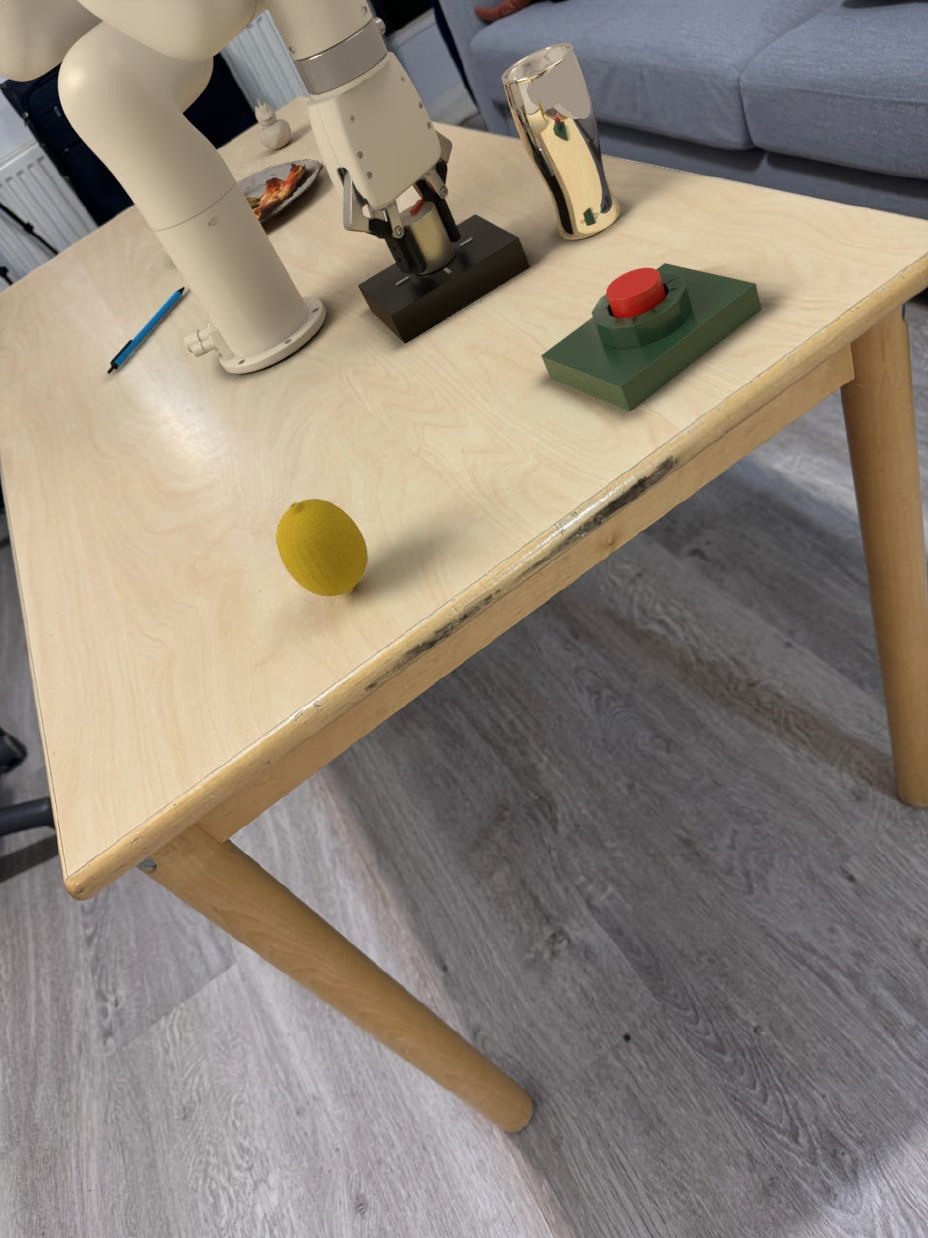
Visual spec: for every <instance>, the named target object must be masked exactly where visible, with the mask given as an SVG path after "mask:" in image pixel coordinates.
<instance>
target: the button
mask: <svg viewBox="0 0 928 1238" xmlns="http://www.w3.org/2000/svg"><path fill="white" fill-rule="evenodd" d="M656 269H657V268H654V267H640V268H635V269H633V270H630V271H627V272H625V273H623V274H621V275H619V276H617V277H616V278H615V279H614V280H612V281H611V282H610V283H609V284H608V285H607V288H606V291H605V294H606V295H607V298H608V301H609V304H610V307H611V310H612V312H613V315H614V316H615V317H616V318H627V317H635V316H638V315H640V314H643V313H645V312H648V311H650V310H652V309H654V308H655V307H656V306H658V305H659V304H660V303H662V302H663V301H664V300H665V297H666V293H665V290H664V287H663V283H662V280H661V277H660V273H659V271H657V270H656Z"/></svg>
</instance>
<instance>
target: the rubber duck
mask: <svg viewBox="0 0 928 1238" xmlns="http://www.w3.org/2000/svg"><path fill="white" fill-rule="evenodd" d="M256 100H257V105H258V106H257V105H255V106H254V109H255V110H254V111H255V112H254V113H255V118H256V120H257V122H258V124H259V125H260V126H262V128H261V130H260V131H259V132H258V135H257V136H258V140H259V142H260V143H261V144H262V146H264V147H265V148H267V149H271V150H279V149H282V148H284V147H285V146H286V145H287V144H288V143H289V142H290V140H291V135H292V128H291V126H290V124H289V122H288V121H287V120H286V119H283V118H281V119H277V114H276V112H275V110H274V108H273V107H272V106H271V105H269V104H268V103H267V102H266V101H265V100H263V101H260V99H259V98H256ZM262 102H263V103H262Z"/></svg>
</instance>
